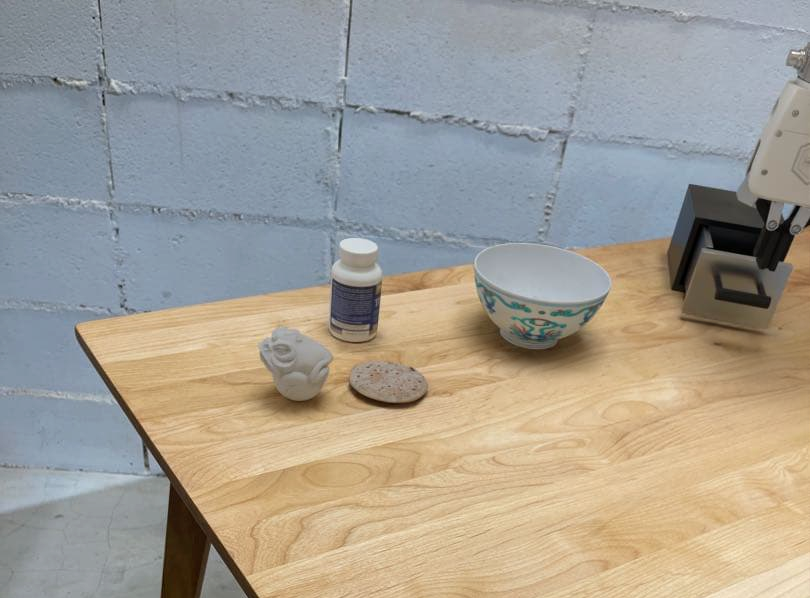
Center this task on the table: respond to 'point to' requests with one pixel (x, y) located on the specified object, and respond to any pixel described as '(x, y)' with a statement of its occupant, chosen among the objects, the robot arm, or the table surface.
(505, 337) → the chinaware
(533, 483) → the table surface
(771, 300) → the drawer
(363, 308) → the pill bottle
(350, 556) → the table surface
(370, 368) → the flatbread
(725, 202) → the cabinet
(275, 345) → the frog figurine
